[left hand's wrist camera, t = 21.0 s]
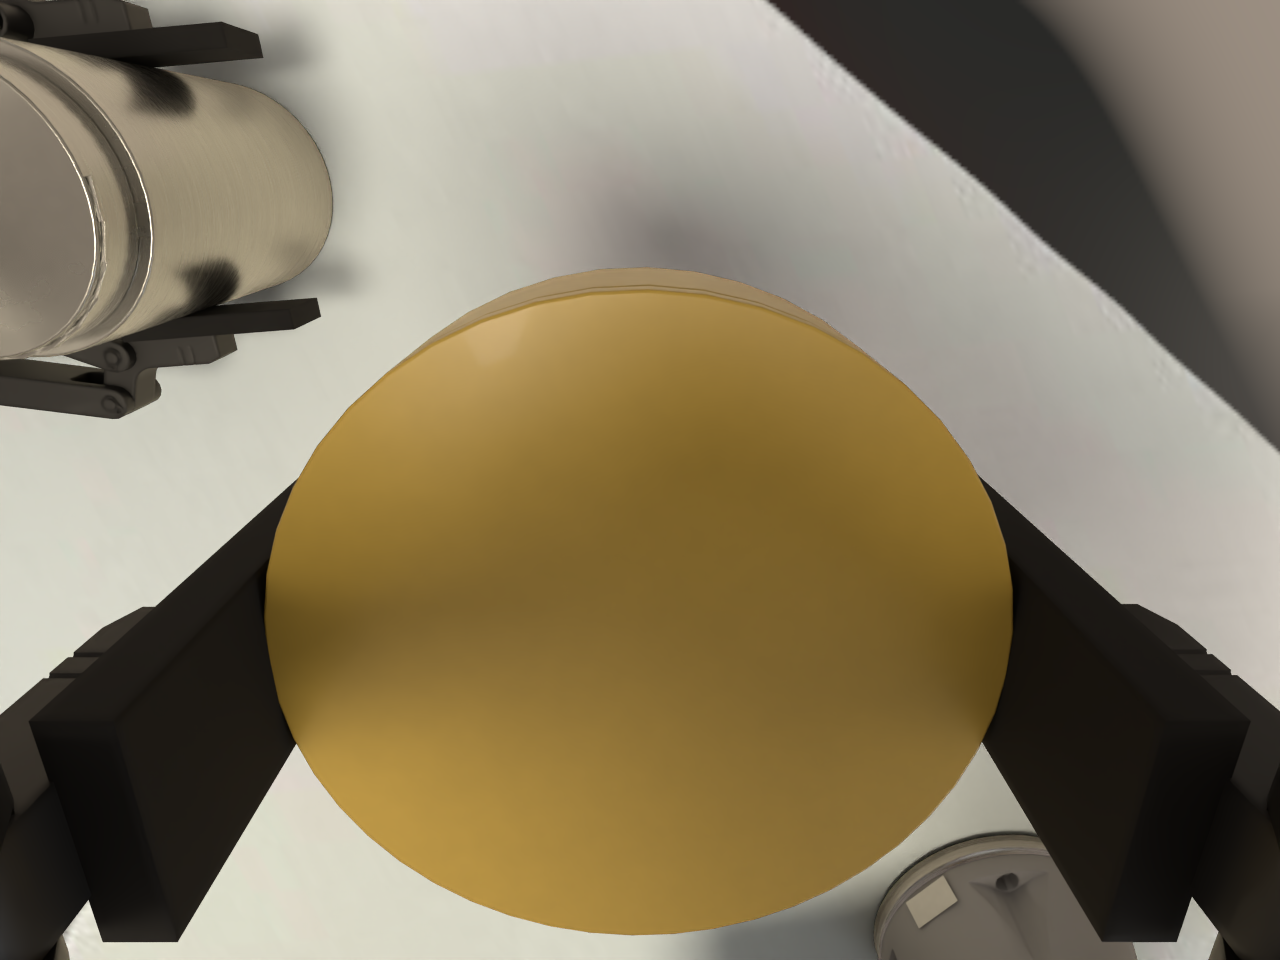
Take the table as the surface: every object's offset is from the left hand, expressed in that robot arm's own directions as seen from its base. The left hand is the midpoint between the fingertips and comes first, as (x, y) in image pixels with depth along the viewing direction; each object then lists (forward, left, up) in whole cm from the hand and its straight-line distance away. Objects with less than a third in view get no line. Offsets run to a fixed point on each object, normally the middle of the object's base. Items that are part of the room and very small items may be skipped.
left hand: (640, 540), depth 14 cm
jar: (+18, +6, -25) cm, 32 cm away
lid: (0, 0, +3) cm, 3 cm away
